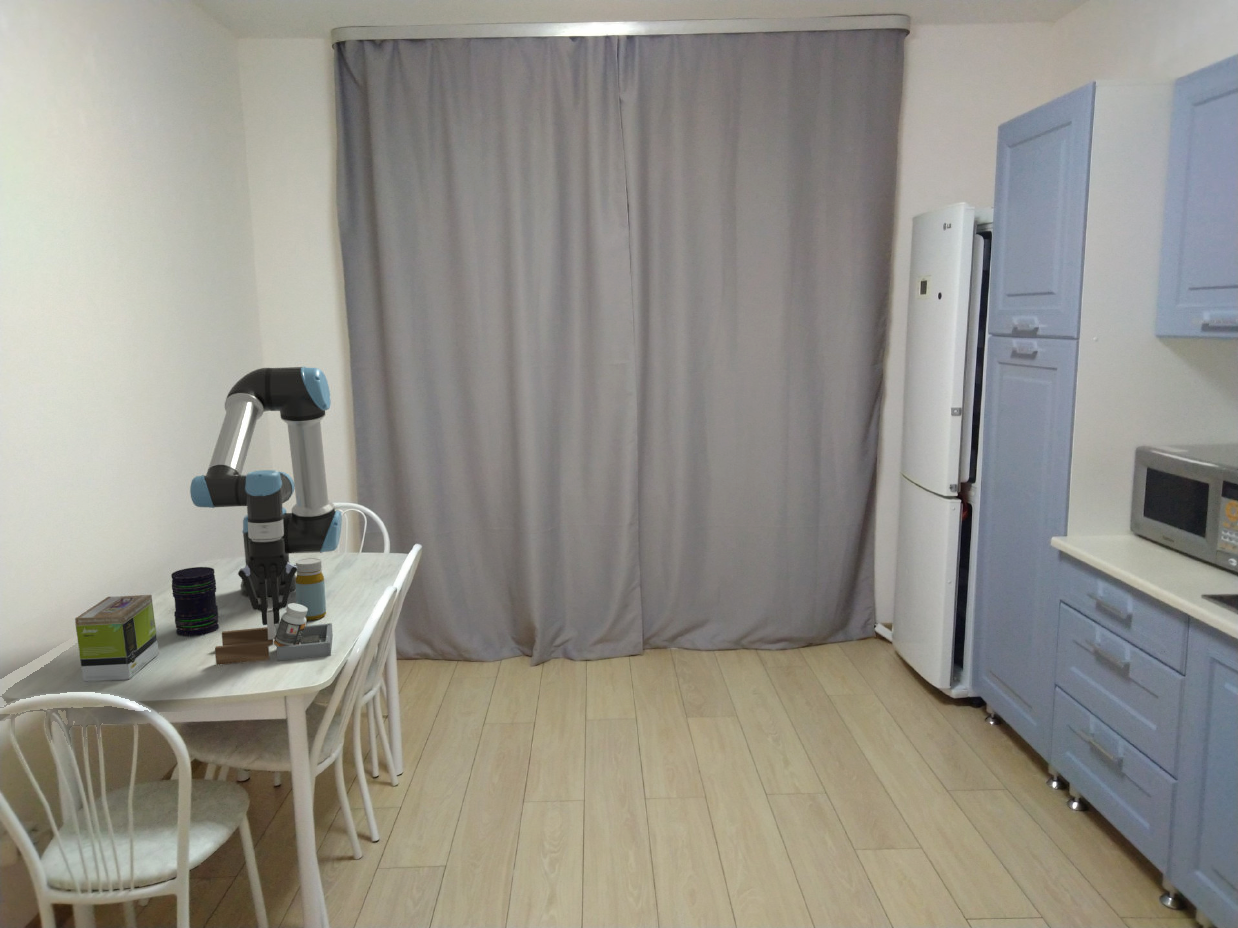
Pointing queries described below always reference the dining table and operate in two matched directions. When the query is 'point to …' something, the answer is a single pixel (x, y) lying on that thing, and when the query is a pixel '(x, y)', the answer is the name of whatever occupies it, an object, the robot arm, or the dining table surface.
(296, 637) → the pill bottle
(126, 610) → the tea box
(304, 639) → the grey square block
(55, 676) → the dining table surface
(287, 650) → the frame
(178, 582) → the dark blue canister
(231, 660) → the slot
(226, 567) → the dining table surface
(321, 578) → the bottle
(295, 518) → the robot arm
